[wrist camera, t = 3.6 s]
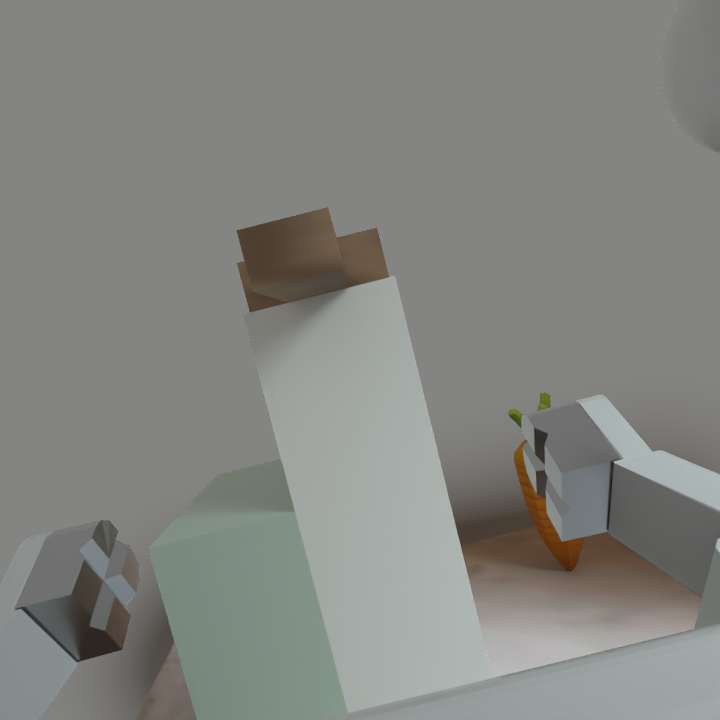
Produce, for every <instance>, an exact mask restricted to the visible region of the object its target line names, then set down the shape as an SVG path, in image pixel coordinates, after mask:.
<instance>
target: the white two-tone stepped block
mask: <svg viewBox="0 0 720 720" xmlns="http://www.w3.org/2000/svg"><path fill="white" fill-rule="evenodd" d="M243 316H244V320H245V324H246V327H247V331H248V335H249V338H250V343H251V346H252V350H253V354H254V358H255V362H256V366H257V369H258V373H259V377H260V381H261V385H262V388H263V392H264V396H265V400H266V404H267V407H268V411H269V415H270V419H271V423H272V426H273V430H274V434H275V438H276V442H277V445H278V449H279V453H280V457H281V460H276V461H272V462H268V463H264V464H260V465H256V466H252V467H248V468H244V469H240V470H236V471H232V472H228V473H224V474H220V475H217V477H216V478H215V479H214V480H213V481H212V482H211V483H210V484H209V485H208V486H207V487H206V488H205V489H204V490H203V491H202V492H201V493H200V494H199V496H197V497H196V498H195V500H194V501H193V502H192V503H191V504H190V505H189V506H188V507H187V508H186V509H185V510H184V511H183V512H182V513H181V514H180V515H179V516H178V518H176V520H175V521H174V522H173V523H172V524H171V525H170V526H169V527H168V528H167V529H166V530H165V531H164V532H163V533H162V534H161V535H160V536H159V537H158V538H157V539H156V540H155V542H154V543H153V544H152V545H151V546H150V547H149V548H148V550H149V553H150V557H151V560H152V564H153V567H154V571H155V575H156V578H157V582H158V585H159V589H160V592H161V596H162V599H163V603H164V607H165V610H166V613H167V617H168V621H169V624H170V628H171V631H172V635H173V638H174V642H175V645H176V649H177V653H178V656H179V660H180V663H181V667H182V670H183V674H184V677H185V681H186V684H187V688H188V692H189V695H190V699H191V702H192V706H193V709H194V713H195V716H196V720H321V719H325V718H329V717H333V716H337V715H342V714H346V713H350V712H354V711H358V710H362V709H366V708H370V707H375V706H379V705H383V704H387V703H391V702H395V701H400V700H404V699H408V698H412V697H416V696H420V695H424V694H429V693H433V692H437V691H441V690H445V689H449V688H453V687H458V686H462V685H466V684H470V683H474V682H478V681H482V680H487V679H491V678H493V677H492V673H491V669H490V665H489V660H488V656H487V652H486V648H485V644H484V640H483V636H482V632H481V628H480V623H479V619H478V615H477V611H476V607H475V603H474V599H473V595H472V591H471V587H470V582H469V578H468V574H467V570H466V566H465V562H464V558H463V554H462V550H461V545H460V542H459V537H458V534H457V529H456V525H455V521H454V517H453V513H452V509H451V504H450V500H449V497H448V492H447V488H446V484H445V480H444V476H443V472H442V468H441V463H440V459H439V455H438V451H437V447H436V443H435V439H434V435H433V431H432V426H431V422H430V418H429V414H428V410H427V406H426V402H425V398H424V394H423V390H422V385H421V381H420V378H419V373H418V369H417V365H416V361H415V357H414V353H413V349H412V344H411V340H410V336H409V332H408V329H407V324H406V320H405V316H404V312H403V308H402V303H401V300H400V295H399V291H398V287H397V284H396V279H395V276H393V277H389V278H385V279H381V280H377V281H373V282H369V283H365V284H361V285H357V286H353V287H349V288H345V289H341V290H337V291H333V292H329V293H325V294H321V295H317V296H313V297H309V298H305V299H301V300H298V301H294V302H290V303H286V304H282V305H278V306H274V307H270V308H266V309H262V310H258V311H254V312H250V313H246V314H243Z"/></svg>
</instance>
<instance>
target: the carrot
mask: <svg viewBox="0 0 720 720" xmlns="http://www.w3.org/2000/svg"><path fill="white" fill-rule="evenodd" d="M547 408H550V395H548V394H546V393H541V394H540V404H539V406H538V410H537V411H539V410H543V409H547ZM508 414H509V416H510V417H511V418H512V419H513V420H514V421H515V422H516V423H517V424H518V425H519V426H520V428H521V429H522V427H521V419H522V414H521V413H520V412H519V411H518V410H516V409H511V410H510V411H509V413H508ZM526 442H527V440H525V441H524V442H523V443H521V445H520V446H519V447H518V449H517V450H516V452H515V453H514V462H515V466H516V469H517V474H518V477H519V481H520V485H521V488H522V492H523V495H524V498H525V501H526V505H527V507H528V509H529V512H530V514H531V517H532V519H533V521H534V524H535V526H536V528H537V530H538V532H539V534H540V536H541V538H542V540H543V541H544V543H545V544H546V546H547V547H548V549H549V550H550V552H551V553H552V554H553V555H554V556H555V557H556V559H557V560H558V561H559V562H560V563H561V565H562V566H564V567H566V568H567V569H569V570H573V569H574V568H575V566H576V565H577V561H578V558H579V554H580V551H581V548H582V542H583V537H581V538H577V539H572V540H567V541H563V542H562V540H561V539H560V537H559V535H558V533H557V531H556V529H555V527H554V526H553V524H552V522H551V520H550V518H549V516H548V514H547V510H546V499H544V498H543V497H541V496H539V495H537V494H536V492H535V490H534V488H533V486H532V484H531V481H530V479H529V476H528V474H527V470H526V466H525V462H524V455H523V446H524V445H525V443H526Z"/></svg>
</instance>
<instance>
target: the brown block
mask: <svg viewBox="0 0 720 720" xmlns="http://www.w3.org/2000/svg"><path fill="white" fill-rule="evenodd" d="M237 233H238V237H239V241H240V245H241V249H242V252H243V256H244V260H245V261H243V262H240V263H237V265H238V268H239V272H240V276H241V280H242V284H243V288H244V292H245V295H246V299H247V303H248V306H249V311H250V312H254V311H258V310H262V309H266V308H270V307H274V306H278V305H282V304H286V303H290V302H294V301H298V300H301V299H305V298H309V297H313V296H317V295H321V294H325V293H329V292H333V291H337V290H341V289H345V288H349V287H353V286H357V285H361V284H365V283H369V282H373V281H377V280H381V279H385V278H389V276H388V271H387V267H386V263H385V259H384V255H383V251H382V247H381V243H380V239H379V234H378V230H377V228H374V229H370V230H366V231H362V232H358V233H354V234H350V235H346V236H342V237H338V238H336V234H335V231H334V227H333V224H332V220H331V216H330V213H329V209H328V207H327V208H323V209H320V210H316V211H312V212H308V213H304V214H300V215H296V216H292V217H288V218H284V219H280V220H277V221H272V222H268V223H265V224H261V225H257V226H253V227H249V228H245V229H241V230H237Z"/></svg>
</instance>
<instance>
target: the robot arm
mask: <svg viewBox="0 0 720 720" xmlns="http://www.w3.org/2000/svg"><path fill="white" fill-rule="evenodd" d="M659 81H660V87H661V92H662V96H663V100H664V102H665V105H666V107H667V110H668V111H669V113H670V115H671V117H672V118H673V120H674V121H675V123H676V124H677V125H678V127H679V128H680V129H681V130H682V131H683V132H684V133H685V134H686V135H687V136H688V137H690V138H691V139H692V140H694V141H695V142H696V143H698V144H700V145H702V146H704V147H705V148H707V149H710V150H712V151H715V152H717V153H720V0H679V2H678V4H677V6H676V8H675V10H674V12H673V13H672V16H671V19H670V21H669V23H668V26H667V29H666V32H665V35H664V38H663V42H662V47H661V52H660V60H659ZM521 427H522V432H523V434H524V435H525V437H526V439H527V442H526V443H525V445H524V446H523V455H524V462H525V466H526V470H527V474H528V476H529V479H530V481H531V484H532V486H533V488H534V490H535V492H536V494H537V495H539V496H541V497H543V498H544V499H546V510H547V514H548V516H549V518H550V520H551V522H552V524H553V526H554V527H555V529H556V531H557V533H558V535H559V537H560V539H561V540H562V542H563V541H567V540H572V539H577V538H581V537H586V536H590V535H595V534H600V533H604V532H608V534H609V535H611V536H612V537H614V538H615V539H617V540H618V541H619V542H621V543H622V544H624V545H625V546H627V547H628V548H630V549H631V550H633V551H634V552H636V553H637V554H639V555H640V556H641V557H643V558H644V559H646V560H647V561H649V562H650V563H652V564H653V565H655V566H656V567H658V568H659V569H661V570H662V571H663V572H665V573H666V574H668V575H669V576H671V577H672V578H674V579H675V580H677V581H678V582H680V583H681V584H683V585H684V586H685V587H687V588H688V589H690V590H691V591H693V592H694V593H696V594H697V595H699V596H700V597H702V601H701V604H700V608H699V612H698V616H697V620H696V624H695V627H694V629H693V630H689V631H685V632H681V633H677V634H673V635H669V636H665V637H660V638H656V639H652V640H648V641H644V642H640V643H636V644H631V645H627V646H623V647H619V648H615V649H611V650H607V651H603V652H598V653H594V654H590V655H586V656H582V657H578V658H574V659H569V660H565V661H561V662H557V663H553V664H549V665H545V666H541V667H536V668H532V669H528V670H524V671H520V672H516V673H512V674H507V675H503V676H499V677H495V678H491V679H487V680H482V681H478V682H474V683H470V684H466V685H462V686H458V687H453V688H449V689H445V690H441V691H437V692H433V693H429V694H424V695H420V696H416V697H412V698H408V699H404V700H400V701H395V702H391V703H387V704H383V705H379V706H375V707H370V708H366V709H362V710H358V711H354V712H350V713H346V714H342V715H337V716H333V717H329V718H325V719H321V720H720V474H717V473H715V472H712V471H710V470H707V469H705V468H703V467H700V466H698V465H695V464H693V463H691V462H688V461H686V460H683V459H681V458H679V457H676V456H674V455H671V454H669V453H667V452H664V451H662V450H659V451H655V452H652V451H651V449H650V448H649V447H648V446H647V445H646V444H645V442H644V441H643V440H642V439H641V438H640V437H639V435H638V434H637V433H636V432H635V431H634V430H633V428H632V427H631V426H630V425H629V424H628V423H627V421H625V419H624V418H623V417H622V416H621V414H620V413H619V412H618V411H617V410H616V408H615V407H614V406H613V405H612V404H611V403H610V401H609V400H608V399H607V398H606V397H605V396H603V395H596V396H593V397H589V398H585V399H581V400H577V401H574V402H570V403H566V404H563V405H559V406H555V407H551V408H547V409H543V410H539V411H536V412H532V413H528V414H524V415H522V419H521ZM117 534H118V530H117V529H116V528H115V527H114V525H113V524H112V523H111V522H110V521H108V520H101V521H97V522H92V523H88V524H83V525H79V526H75V527H70V528H66V529H62V530H57V531H53V532H51V533H46V534H42V535H37V536H32V537H28V538H27V539H26V540H25V541H23V542H22V543H21V544H20V546H19V548H18V550H17V552H16V554H15V556H14V558H13V560H12V562H11V564H10V566H9V568H8V570H7V573H6V575H5V577H4V578H3V581H2V583H1V585H0V720H40V719H41V718H42V716H43V715H44V713H45V712H46V710H47V709H48V707H49V706H50V704H51V703H52V702H53V700H54V699H55V697H56V696H57V695H58V693H59V692H60V690H61V689H62V687H63V686H64V684H65V683H66V682H67V680H68V679H69V677H70V676H71V674H72V673H73V672H74V670H75V669H76V667H77V666H78V663H77V662H79V661H82V660H86V659H90V658H94V657H97V656H101V655H104V654H108V653H112V652H115V651H119V650H122V648H123V644H124V640H125V636H126V632H127V628H128V624H129V620H130V617H131V615H130V613H129V611H128V610H127V608H126V605H127V604H128V603H129V602H130V600H131V599H132V598H133V597H134V596H135V594H136V592H137V588H138V583H139V565H138V561H137V559H136V556H135V553H134V552H133V550H132V549H131V548H130V546H129V545H126V544H124V543H122V542H119V541H117V540H116V537H117Z"/></svg>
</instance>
